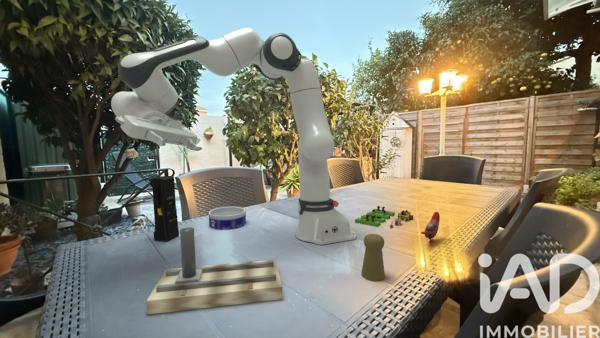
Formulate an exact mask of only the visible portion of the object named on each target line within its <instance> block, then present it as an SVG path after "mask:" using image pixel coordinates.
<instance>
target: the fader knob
mask: <svg viewBox="0 0 600 338" xmlns="http://www.w3.org/2000/svg"><path fill="white" fill-rule="evenodd" d="M179 237H180V239H179V240H180V253H181V254H180V255H181V268H182V271H180V273H179V275H178V277H177V279H176V281H175V284H179V283H189V282H199V281H200V278H201V276H202V269H196V266H197V265H196V263H197V262H196V246H195V245H196V243H195V241H196V240H195V239H196V238H195V228H194V227H183V228H181V229H180V230H179Z"/></svg>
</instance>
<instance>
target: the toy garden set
mask: <svg viewBox="0 0 600 338" xmlns="http://www.w3.org/2000/svg"><path fill="white" fill-rule="evenodd" d="M385 208H386V207H385V206H382V207H381V206H380V205H377V207H376V208H374V209H372V210H371V211H368V212H366V213H365V214H363V215H361V217H357V218H355V219H354V223H355V224H359V223H360V224H361V225H365V226H370V227H376V228H378V227H379V226H381V224H384V223H385V222H386V221H388V220H389V219H391V217H393V216H395V215H396V212H395V211H390V210H385ZM411 212H412V211H409V210H407V209H406V210H401V212H398V213H397V218H395V219H394V225H393V221H392V222H391V223H390V225H389V229H392V228H393V226H399V227H401V225H402V221H413V219H414V215H413V214H412V213H411Z"/></svg>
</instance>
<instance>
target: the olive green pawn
mask: <svg viewBox="0 0 600 338" xmlns="http://www.w3.org/2000/svg"><path fill="white" fill-rule="evenodd" d="M363 245H364V247H365V249H364V250H365V251H364V256H363V263H362V268H361V273H360V274H361V276H362V278H363V279H365V280H367V281H369V282H381V281H383V280H384V279H385V277H386V274H385V264H384V253H383V248H384V246H385V239H384V237H383V236H382V235H380V234H378V233H377V234H376V233H369V234H366V235H365V236H364V238H363Z"/></svg>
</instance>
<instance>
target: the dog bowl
mask: <svg viewBox="0 0 600 338" xmlns="http://www.w3.org/2000/svg"><path fill="white" fill-rule="evenodd" d="M246 211H247V209H245V208H244V207H241V206H223V207H222V206H220V207H216V208H213V209H211V210H209V211H208V222H209V223H208V225H209V228H211V229H213V230H218V231H226V230H227V231H228V230H235V229H239V228H241V227H244V226H245V225H246V221H247V220H246V219H247V215H246V214H247V213H246Z"/></svg>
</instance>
